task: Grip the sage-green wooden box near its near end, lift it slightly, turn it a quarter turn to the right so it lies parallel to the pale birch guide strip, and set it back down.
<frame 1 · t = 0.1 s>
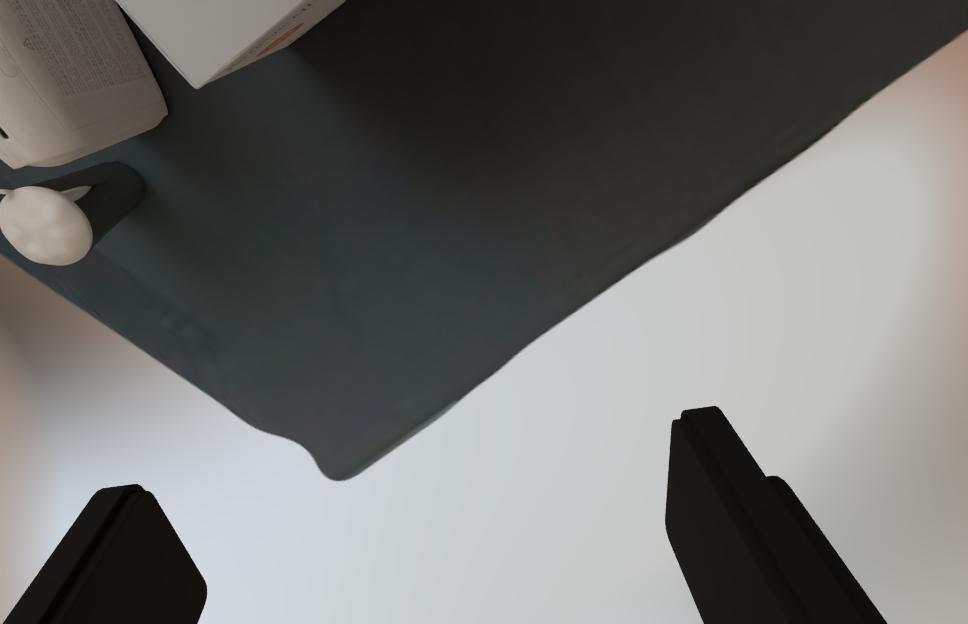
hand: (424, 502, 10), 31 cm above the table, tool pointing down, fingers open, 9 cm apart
photo printer: (106, 42, 33), on the table
milkshake: (117, 178, 37), on the table
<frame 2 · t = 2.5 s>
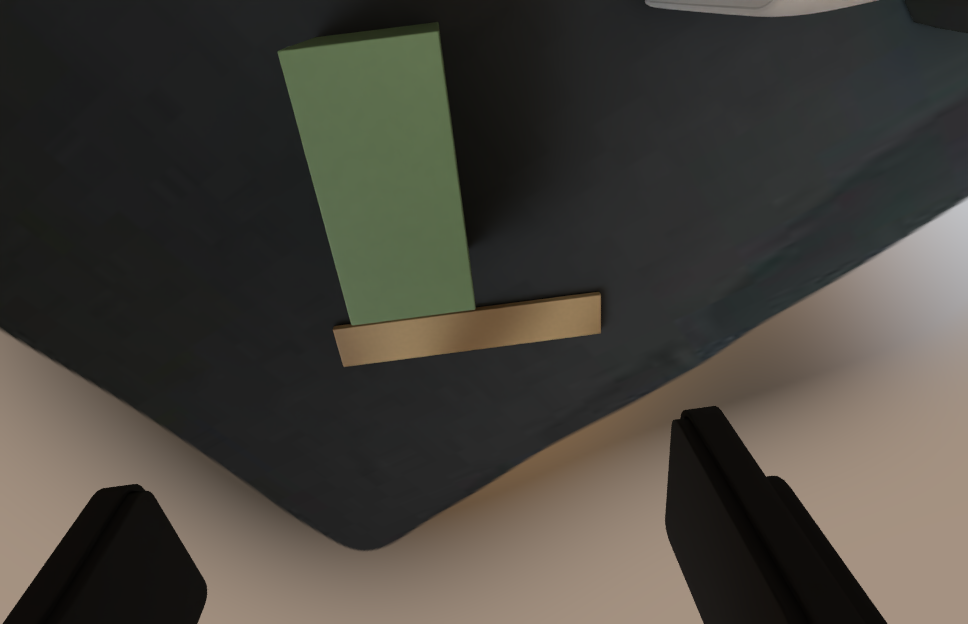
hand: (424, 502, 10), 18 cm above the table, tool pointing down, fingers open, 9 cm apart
guide strip: (469, 327, 29), on the table
green box: (399, 154, 25), on the table
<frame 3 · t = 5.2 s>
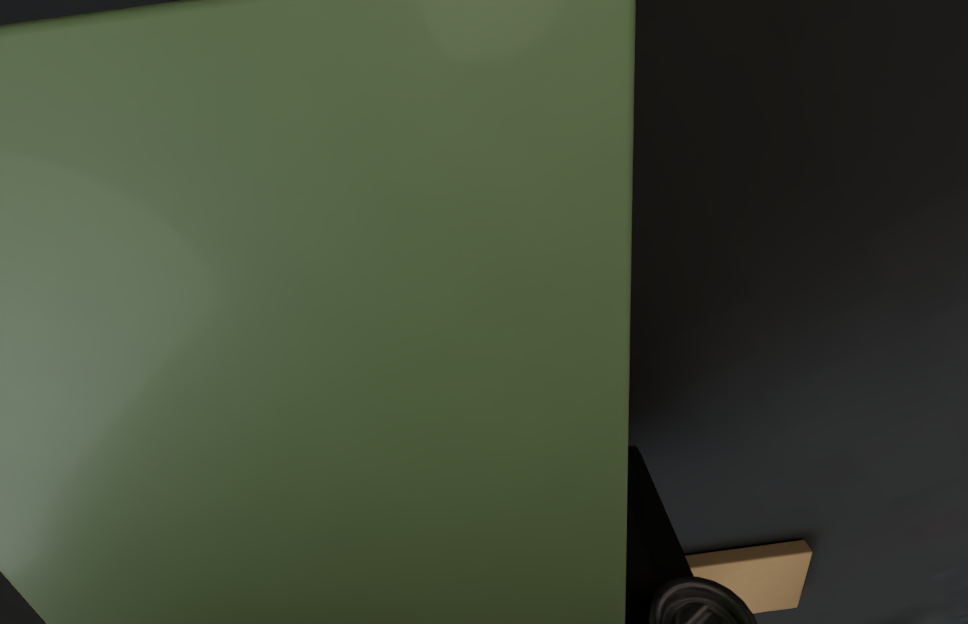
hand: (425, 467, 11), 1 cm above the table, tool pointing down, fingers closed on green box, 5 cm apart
guide strip: (540, 602, 15), on the table
green box: (399, 310, 10), on the table, touching gripper
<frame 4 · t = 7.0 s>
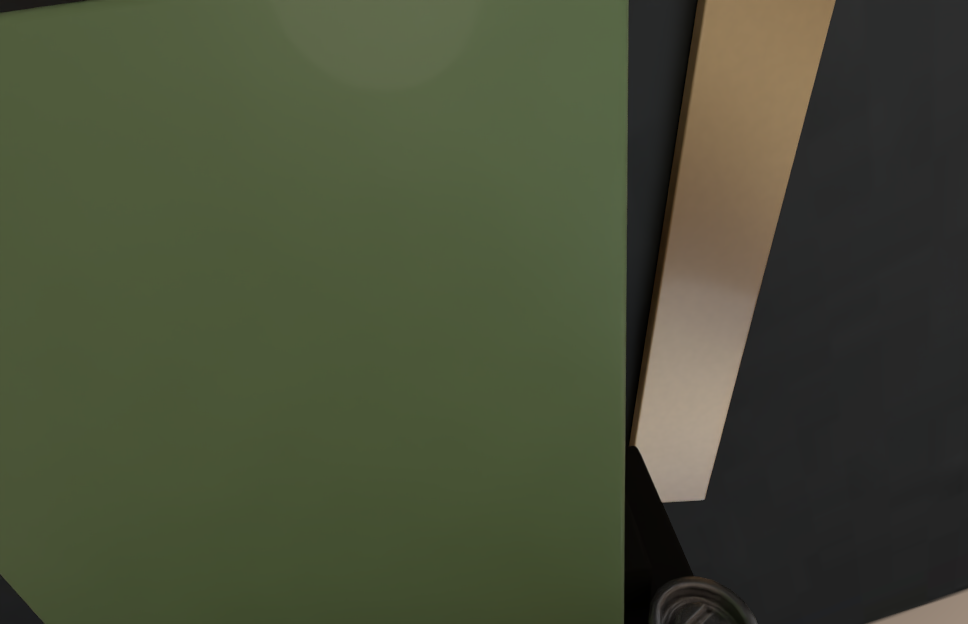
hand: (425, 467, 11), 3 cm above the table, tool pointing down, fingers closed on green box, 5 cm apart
guide strip: (702, 283, 13), on the table
green box: (398, 307, 10), point 2 cm above the table, touching gripper
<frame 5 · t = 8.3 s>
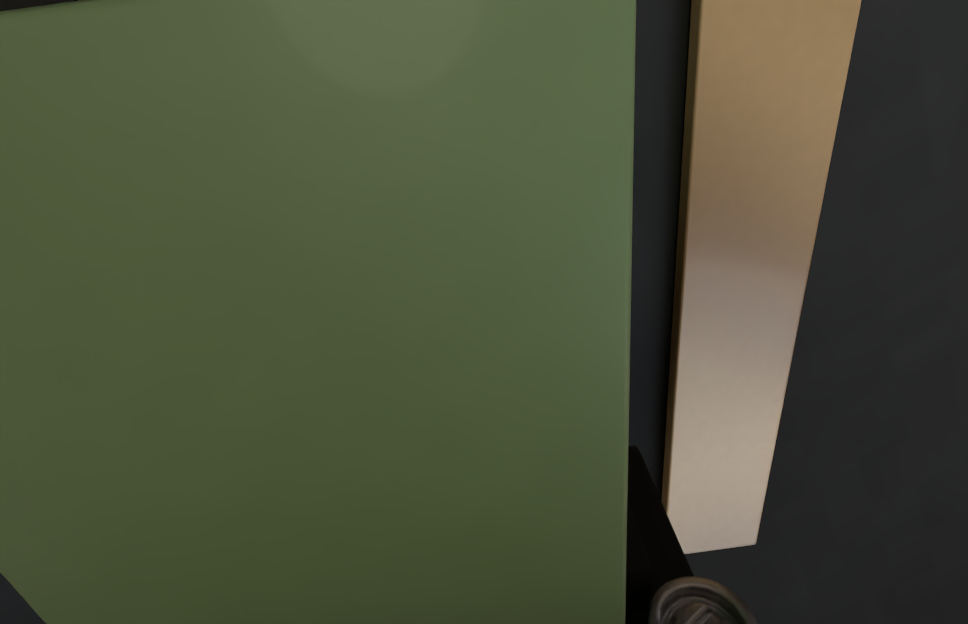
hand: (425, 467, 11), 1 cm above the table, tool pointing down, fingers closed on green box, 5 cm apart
guide strip: (731, 306, 11), on the table
green box: (399, 307, 10), on the table, touching gripper
when the fingers open (1 cm above the table, at t = 8.7 s): green box stays where it is, on the table.
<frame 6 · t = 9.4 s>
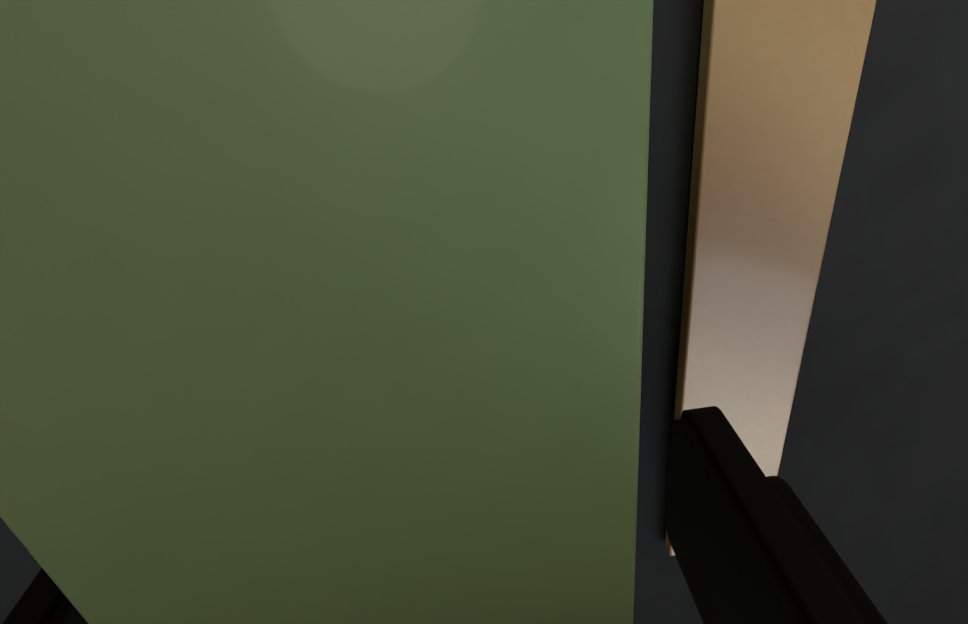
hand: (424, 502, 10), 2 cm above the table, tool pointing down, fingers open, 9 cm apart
guide strip: (741, 303, 11), on the table
green box: (405, 295, 10), on the table
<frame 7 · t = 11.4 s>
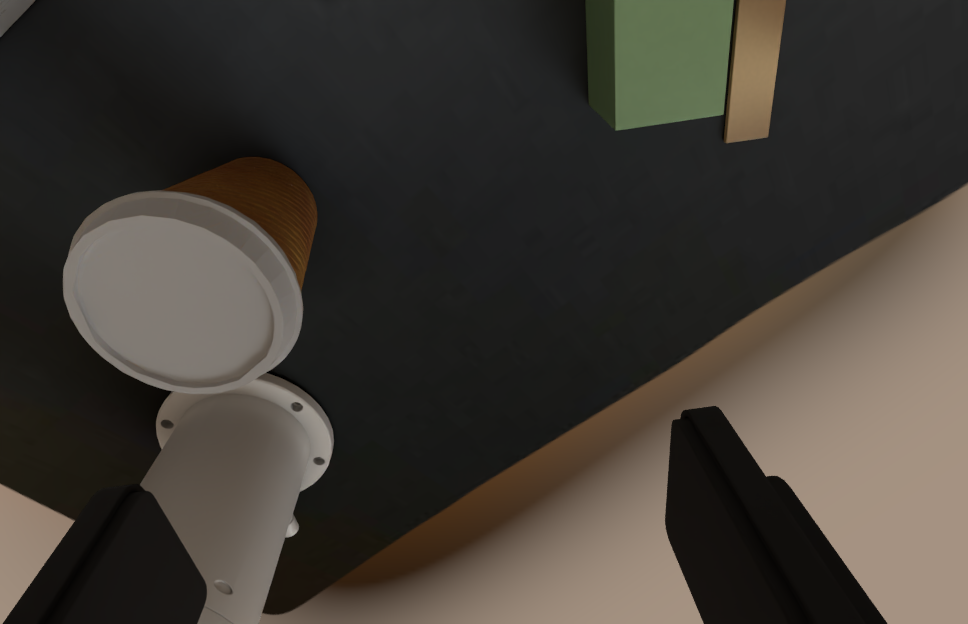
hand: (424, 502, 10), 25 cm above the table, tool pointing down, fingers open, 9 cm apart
guide strip: (759, 1, 28), on the table
disposable coffee cup: (264, 207, 33), on the table
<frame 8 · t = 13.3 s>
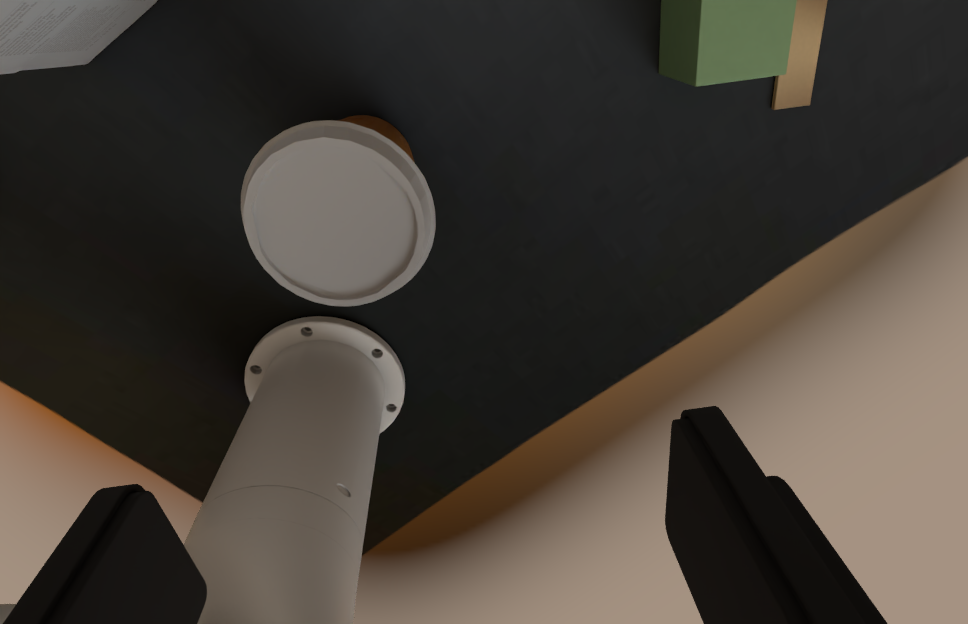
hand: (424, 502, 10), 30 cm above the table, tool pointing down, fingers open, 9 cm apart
disposable coffee cup: (366, 163, 37), on the table
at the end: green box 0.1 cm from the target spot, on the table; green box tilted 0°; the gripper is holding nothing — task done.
